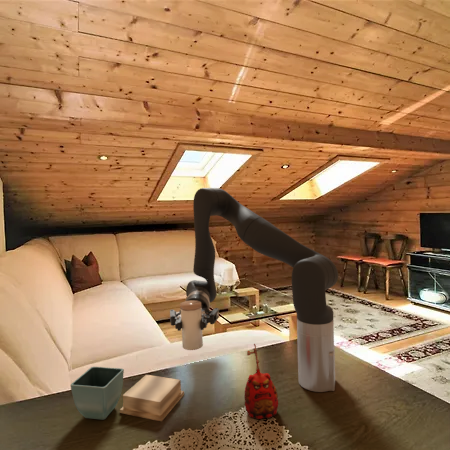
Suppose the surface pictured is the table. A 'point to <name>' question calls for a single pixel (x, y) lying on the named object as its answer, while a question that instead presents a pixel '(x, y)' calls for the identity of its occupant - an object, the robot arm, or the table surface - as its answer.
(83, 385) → the flower pot
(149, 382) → the oak plinth
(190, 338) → the cream canister
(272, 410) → the red clay folk toy
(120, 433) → the table surface
